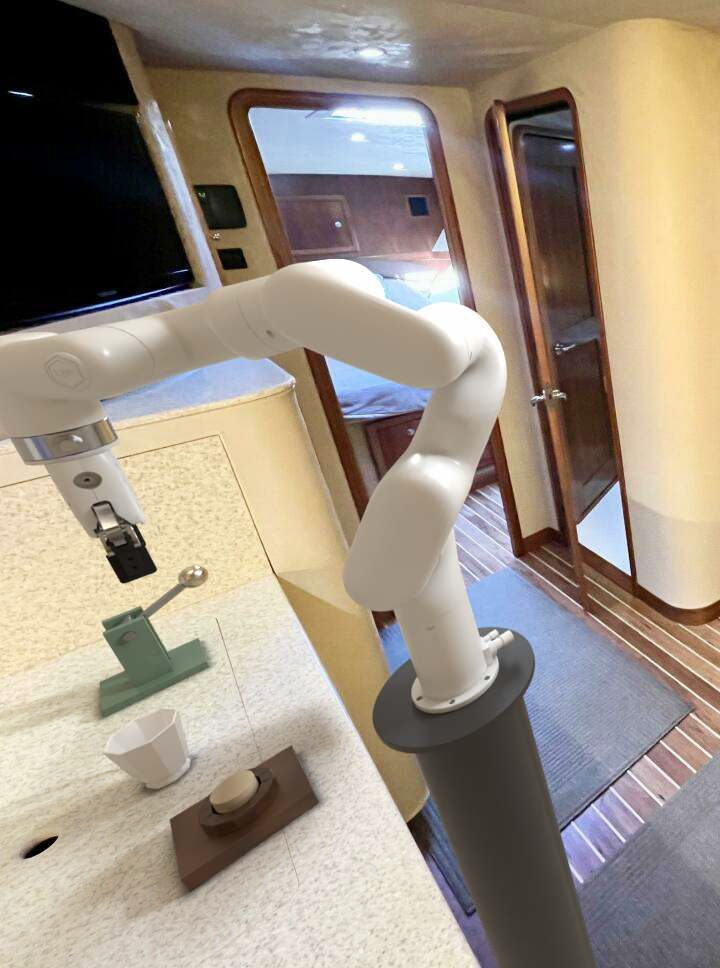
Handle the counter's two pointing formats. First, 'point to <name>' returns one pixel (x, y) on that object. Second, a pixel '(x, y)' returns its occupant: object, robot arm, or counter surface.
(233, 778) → the button
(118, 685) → the bracket
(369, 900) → the counter surface
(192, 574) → the lever
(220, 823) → the button box
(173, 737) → the cup
